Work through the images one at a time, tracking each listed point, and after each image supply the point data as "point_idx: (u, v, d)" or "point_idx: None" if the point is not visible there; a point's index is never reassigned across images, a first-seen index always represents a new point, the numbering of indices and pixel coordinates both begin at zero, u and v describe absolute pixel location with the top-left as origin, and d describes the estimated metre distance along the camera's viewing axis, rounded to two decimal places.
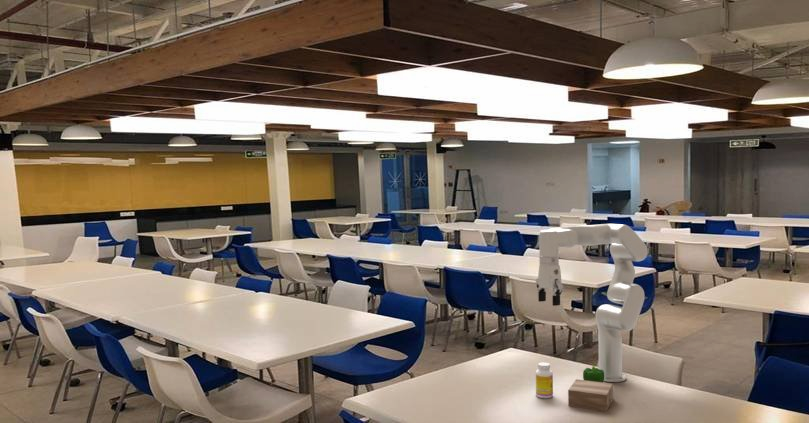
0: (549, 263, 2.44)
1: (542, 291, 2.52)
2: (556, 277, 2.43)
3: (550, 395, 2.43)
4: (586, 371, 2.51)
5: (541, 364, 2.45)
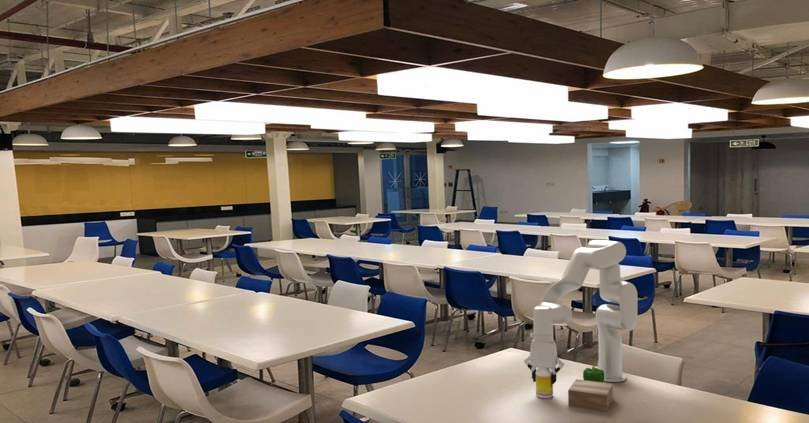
0: None
1: None
2: None
3: (550, 395, 2.43)
4: (586, 371, 2.51)
5: None
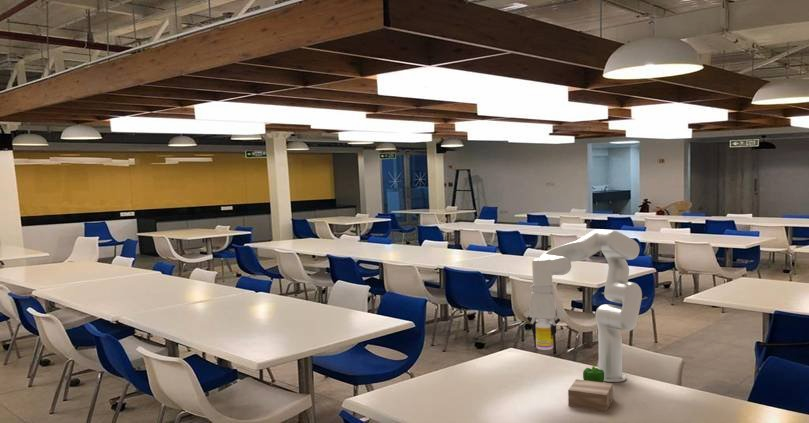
0: None
1: None
2: None
3: (550, 347, 2.42)
4: (586, 371, 2.51)
5: None
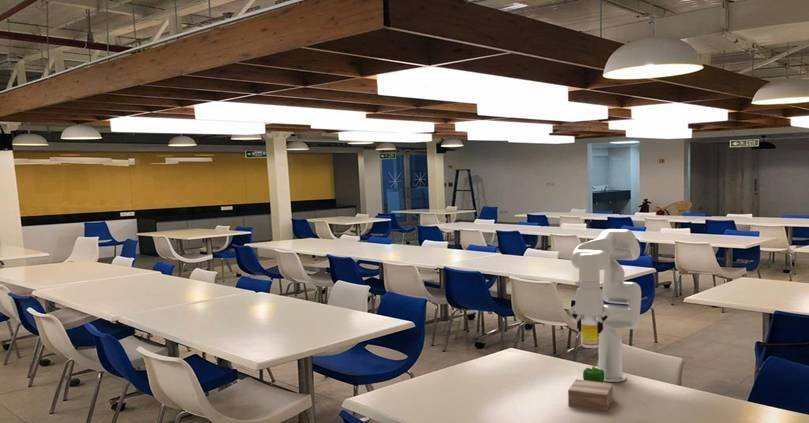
0: None
1: (599, 321, 2.34)
2: None
3: (597, 345, 2.34)
4: (586, 371, 2.51)
5: None
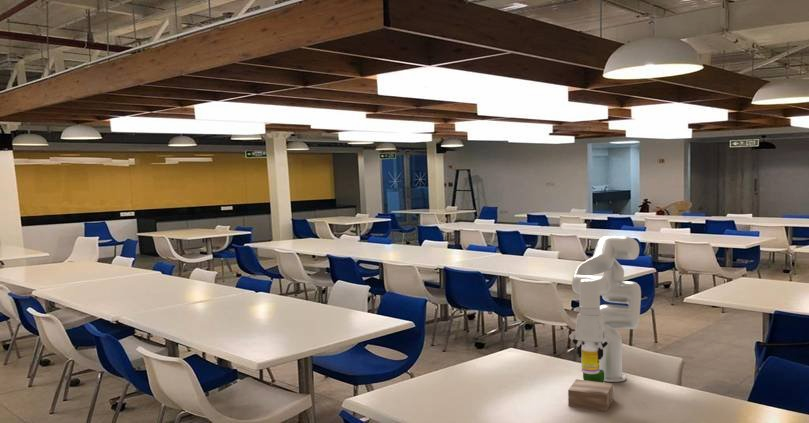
0: None
1: (599, 347, 2.35)
2: None
3: (597, 371, 2.34)
4: None
5: None
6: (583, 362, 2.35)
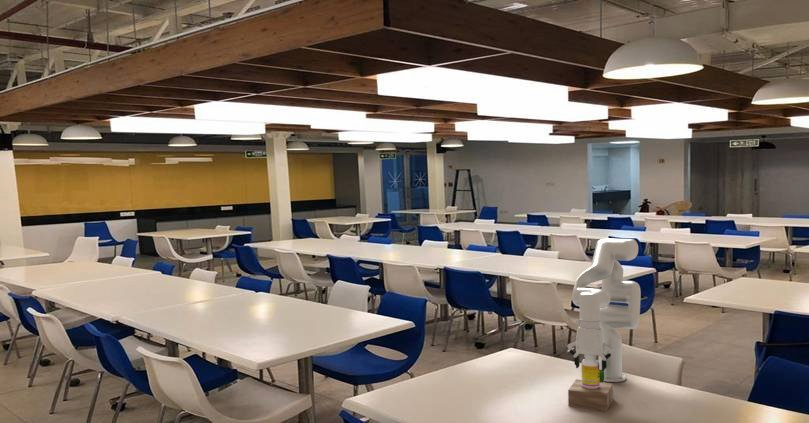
0: None
1: (602, 359, 2.34)
2: None
3: (597, 386, 2.34)
4: None
5: None
6: (583, 377, 2.36)
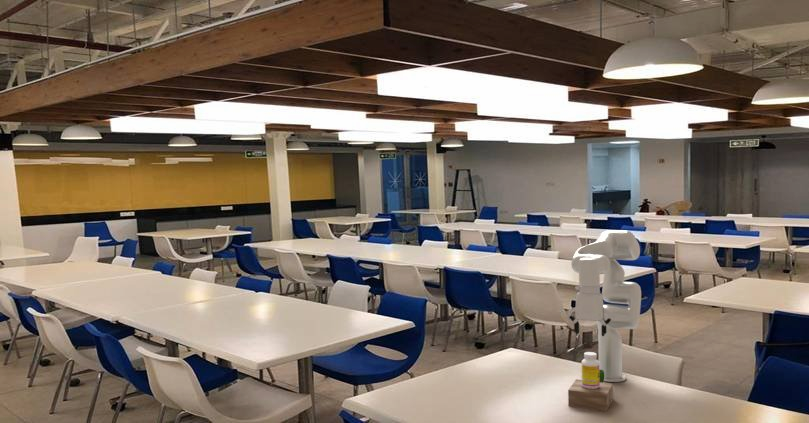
0: None
1: None
2: None
3: (597, 386, 2.34)
4: None
5: (587, 353, 2.36)
6: (583, 377, 2.36)
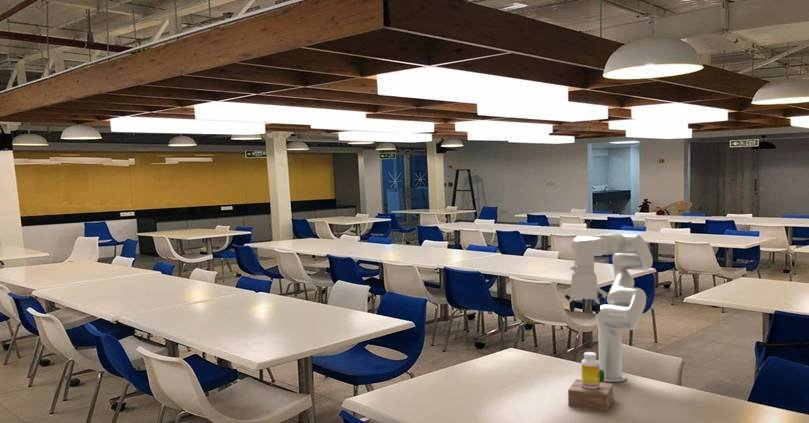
0: None
1: None
2: None
3: (597, 385, 2.34)
4: None
5: (587, 353, 2.36)
6: (583, 377, 2.36)
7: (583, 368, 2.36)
